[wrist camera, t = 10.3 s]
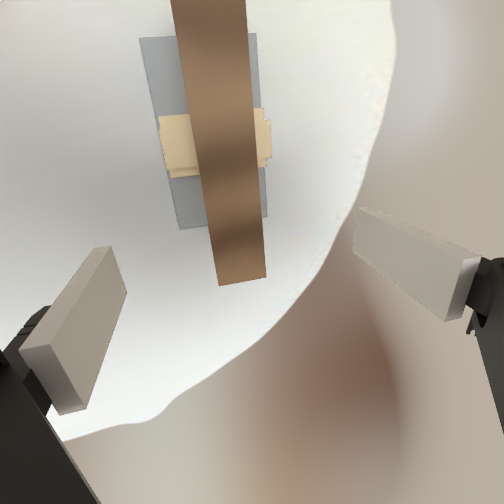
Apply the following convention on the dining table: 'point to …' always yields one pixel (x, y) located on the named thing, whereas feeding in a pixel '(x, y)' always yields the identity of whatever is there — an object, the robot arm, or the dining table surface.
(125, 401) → the dining table surface
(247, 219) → the bar
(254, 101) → the fulcrum
